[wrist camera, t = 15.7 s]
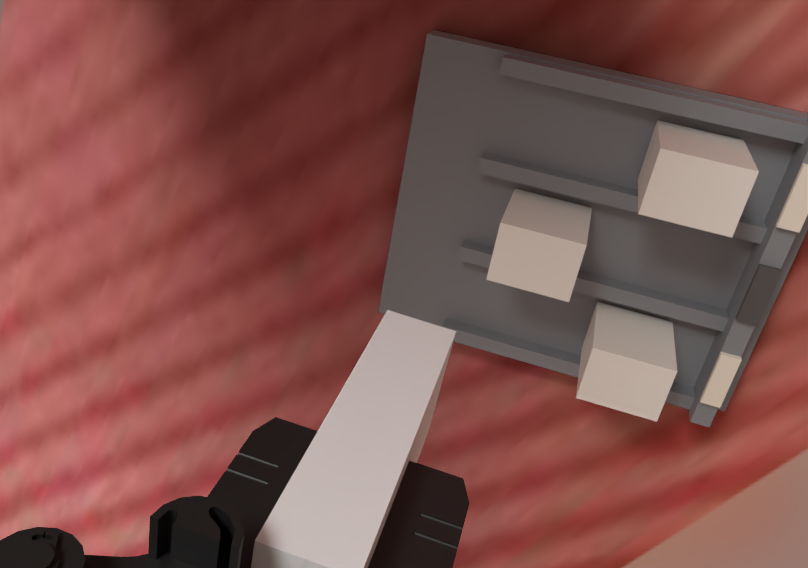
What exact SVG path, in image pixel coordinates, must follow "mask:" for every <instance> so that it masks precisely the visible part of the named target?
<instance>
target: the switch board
mask: <svg viewBox="0 0 808 568" xmlns="http://www.w3.org/2000/svg"><path fill="white" fill-rule="evenodd" d="M657 120H659V121H664V122H668V123H672V124H677V125H681V126H685V127H690V128H694V129H698V130H702V131H707V132H711V133H715V134H720V135H724V136H728V137H733V138H737V139H741V140H744V142H745V144H746V146H747V148H748V150H749V152H750V154H751V156H752V158H753V160H754V162H755V164H756V166H757V169H758V171H759V173H758V176H757V178H756V180H755V183H754V185H753V188H752V190H751V193H750V195H749V198H748V200H747V202H746V205H745V207H744V210H743V212H742V215H741V217H740V220H739V222H738V225H737V227H736V229H735V232H734V234H733V237H732V238H731V237H727V236H723V235H719V234H715V233H711V232H707V231H703V230H699V229H695V228H691V227H688V226H684V225H680V224H676V223H672V222H668V221H664V220H660V219H656V218H652V217H648V216H644V215H640V214H638V177H639V174H640V171H641V168H642V165H643V162H644V159H645V156H646V153H647V150H648V147H649V144H650V141H651V137H652V134H653V131H654V128H655V125H656V122H657ZM515 189H519V190H523V191H527V192H531V193H535V194H539V195H543V196H547V197H551V198H555V199H559V200H563V201H567V202H571V203H575V204H579V205H583V206H587V207H591V208H592V212H591V219H590V226H589V233H588V240H587V246H586V249H585V252H584V256H583V259H582V262H581V265H580V268H579V272H578V275H577V278H576V281H575V285H574V288H573V291H572V294H571V297H570V301H569V302H566V301H562V300H559V299H555V298H551V297H548V296H544V295H541V294H537V293H533V292H530V291H526V290H522V289H519V288H515V287H511V286H508V285H504V284H500V283H497V282H493V281H489V280H486V278H487V274H488V270H489V266H490V262H491V258H492V254H493V250H494V246H495V242H496V238H497V234H498V230H499V226H500V222H501V220H502V218H503V215H504V213H505V211H506V208H507V206H508V204H509V201H510V199H511V197H512V194H513V192H514V190H515ZM807 231H808V113H805V112H800V111H796V110H791V109H787V108H782V107H778V106H773V105H769V104H764V103H760V102H755V101H751V100H746V99H742V98H737V97H733V96H728V95H724V94H720V93H715V92H711V91H706V90H702V89H697V88H693V87H688V86H684V85H679V84H675V83H670V82H666V81H661V80H657V79H652V78H648V77H643V76H639V75H634V74H630V73H625V72H621V71H617V70H612V69H608V68H603V67H599V66H594V65H590V64H585V63H581V62H576V61H572V60H567V59H563V58H558V57H554V56H549V55H545V54H540V53H536V52H531V51H527V50H523V49H518V48H514V47H509V46H505V45H500V44H496V43H491V42H487V41H482V40H478V39H473V38H469V37H464V36H460V35H455V34H451V33H446V32H442V31H437V30H433V31H431V32H429V33H427V37H426V42H425V48H424V54H423V59H422V65H421V71H420V76H419V82H418V88H417V94H416V99H415V105H414V111H413V116H412V122H411V128H410V133H409V139H408V145H407V150H406V156H405V162H404V168H403V173H402V179H401V185H400V190H399V196H398V202H397V207H396V213H395V219H394V225H393V230H392V236H391V242H390V247H389V253H388V259H387V264H386V270H385V276H384V282H383V287H382V293H381V299H380V304H379V310H378V312H379V313H383V314H385V313H386V311H387V310H390V311H393V312H396V313H399V314H402V315H406V316H409V317H412V318H415V319H418V320H422V321H425V322H428V323H431V324H434V325H438V326H441V327H444V328H447V329H450V330H454V331H456V334H455V338H454V342H456V343H460V344H463V345H467V346H470V347H474V348H477V349H481V350H484V351H488V352H491V353H495V354H498V355H502V356H505V357H508V358H512V359H515V360H519V361H522V362H526V363H529V364H533V365H536V366H540V367H543V368H547V369H550V370H554V371H557V372H560V373H564V374H567V375H571V376H574V377H578V376H579V367H580V359H581V351H582V346H583V343H584V340H585V337H586V334H587V331H588V328H589V325H590V322H591V319H592V316H593V313H594V310H595V307H596V304H597V302H601V303H604V304H608V305H612V306H615V307H619V308H623V309H626V310H630V311H634V312H637V313H641V314H645V315H649V316H652V317H656V318H660V319H663V320H667V321H671V322H673V331H674V341H675V352H676V362H677V374H676V376H675V379H674V381H673V384H672V386H671V388H670V391H669V393H668V396H667V398H666V401H665V403H668V404H671V405H675V406H678V407H682V408H685V409H689V416H690V422H692V423H696V424H699V425H702V426H706V427H710V425H711V423H712V420H713V418H714V416H715V414H716V412H717V409H718V410H721V411H725V410H726V408H727V406H728V403H729V401H730V399H731V397H732V395H733V392H734V390H735V388H736V386H737V384H738V381H739V379H740V377H741V375H742V373H743V371H744V368H745V366H746V364H747V362H748V360H749V357H750V355H751V353H752V351H753V349H754V346H755V344H756V342H757V340H758V338H759V336H760V333H761V331H762V329H763V327H764V325H765V322H766V320H767V318H768V316H769V314H770V312H771V309H772V307H773V305H774V303H775V301H776V298H777V296H778V294H779V292H780V290H781V287H782V285H783V283H784V281H785V279H786V277H787V274H788V272H789V270H790V268H791V266H792V263H793V261H794V259H795V257H796V255H797V252H798V250H799V248H800V246H801V244H802V242H803V239H804V237H805V235H806V233H807Z"/></svg>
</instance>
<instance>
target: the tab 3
mask: <svg viewBox="0 0 808 568" xmlns="http://www.w3.org/2000/svg"><path fill="white" fill-rule="evenodd" d="M758 173H759V171H758V169H757V166H756V164H755V162H754V160H753V158H752V156H751V154H750V152H749V150H748V148H747V146H746V144H745V142H744V140H741V139H737V138H733V137H728V136H724V135H720V134H715V133H711V132H707V131H702V130H698V129H694V128H690V127H685V126H681V125H677V124H672V123H668V122H664V121H659V120H657V122H656V125H655V128H654V131H653V134H652V137H651V141H650V144H649V147H648V150H647V153H646V156H645V159H644V162H643V165H642V168H641V171H640V174H639V177H638V214H640V215H644V216H648V217H652V218H656V219H660V220H664V221H668V222H672V223H676V224H680V225H684V226H688V227H691V228H695V229H699V230H703V231H707V232H711V233H715V234H719V235H723V236H727V237H731V238H732V237H733V234H734V232H735V229H736V227H737V225H738V222H739V220H740V217H741V215H742V212H743V210H744V207H745V205H746V202H747V200H748V198H749V195H750V193H751V190H752V188H753V185H754V183H755V180H756V178H757V176H758Z"/></svg>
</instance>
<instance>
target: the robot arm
mask: <svg viewBox="0 0 808 568" xmlns="http://www.w3.org/2000/svg"><path fill="white" fill-rule="evenodd" d="M455 334H456V331H454V330H450V329H447V328H444V327H441V326H438V325H434V324H431V323H428V322H425V321H422V320H418V319H415V318H412V317H409V316H406V315H402V314H399V313H396V312H393V311H390V310H387V311H386V313H385V315H384V317H383V318H382V320H381V322H380V324H379V325H378V327H377V329H376V331H375V332H374V334H373V336H372V338H371V339H370V341H369V343H368V345H367V346H366V348H365V350H364V351H363V353H362V355H361V357H360V358H359V360H358V362H357V364H356V365H355V367H354V369H353V371H352V372H351V374H350V376H349V378H348V379H347V381H346V383H345V385H344V386H343V388H342V390H341V392H340V393H339V395H338V397H337V398H336V400H335V402H334V404H333V405H332V407H331V409H330V411H329V412H328V414H327V416H326V418H325V419H324V421H323V423H322V425H321V426H320V428H319V430H318V431H315V430H312V429H309V428H306V427H303V426H300V425H297V424H294V423H291V422H288V421H285V420H282V419H279V418H277V417H275V418H274V419H272V420H270V421H269V422H267V423H266V424H264V425H262V426H261V427H259V428H257V429H256V430H254V431H253V432H252V433H251V435H250V436H249V438H248V439H247V441H246V442H245V443H244V445H243V446H242V448H241V449H240V451H239V454H238V455H236V456H235V458H234V459H233V461H232V462H231V464H230V465H229V467H228V469H227V471H225V472H224V474H223V475H222V477H221V478H220V480H219V481H218V482H217V484H216V485H215V487H214V488H213V490H212V491H211V493H210V494H209V495H208V497H203V496H192V497H183V498H179V499H176V500H174V501H171V502H169V503H167V504H164V505H163V506H161V507H160V508H159V509H158V510H157V511H156V512H155V513H154V514H153V515H151V516H150V532H149V554H145V555H141V556H135V557H112V556H95V555H84V551H83V546H82V545H81V544H80V543H79V541H78V540H77V539H76V538H75V537H74V536H73V535H72V534H70V533H67V532H65V531H62V530H60V529H58V528H45V527H36V528H31V529H27V530H22V531H18V532H16V533H14V534H12V535H10V536H8V537H6V538H4V539H2V540H0V568H452V567H453V563H454V560H455V556H456V552H457V548H458V544H459V540H460V537H461V533H462V529H463V525H464V521H465V518H466V514H467V510H468V506H469V500H468V496H467V492H466V488H465V484H464V480H463V478H460V477H457V476H454V475H451V474H448V473H445V472H442V471H439V470H436V469H433V468H430V467H427V466H424V465H421V464H418V463H417V461H418V459H419V456H420V453H421V451H422V448H423V445H424V442H425V440H426V437H427V434H428V432H429V428H430V425H431V421H432V417H433V414H434V410H435V407H436V403H437V399H438V396H439V392H440V388H441V385H442V381H443V378H444V374H445V370H446V367H447V363H448V360H449V356H450V352H451V349H452V345H453V342H454V338H455Z"/></svg>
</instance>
